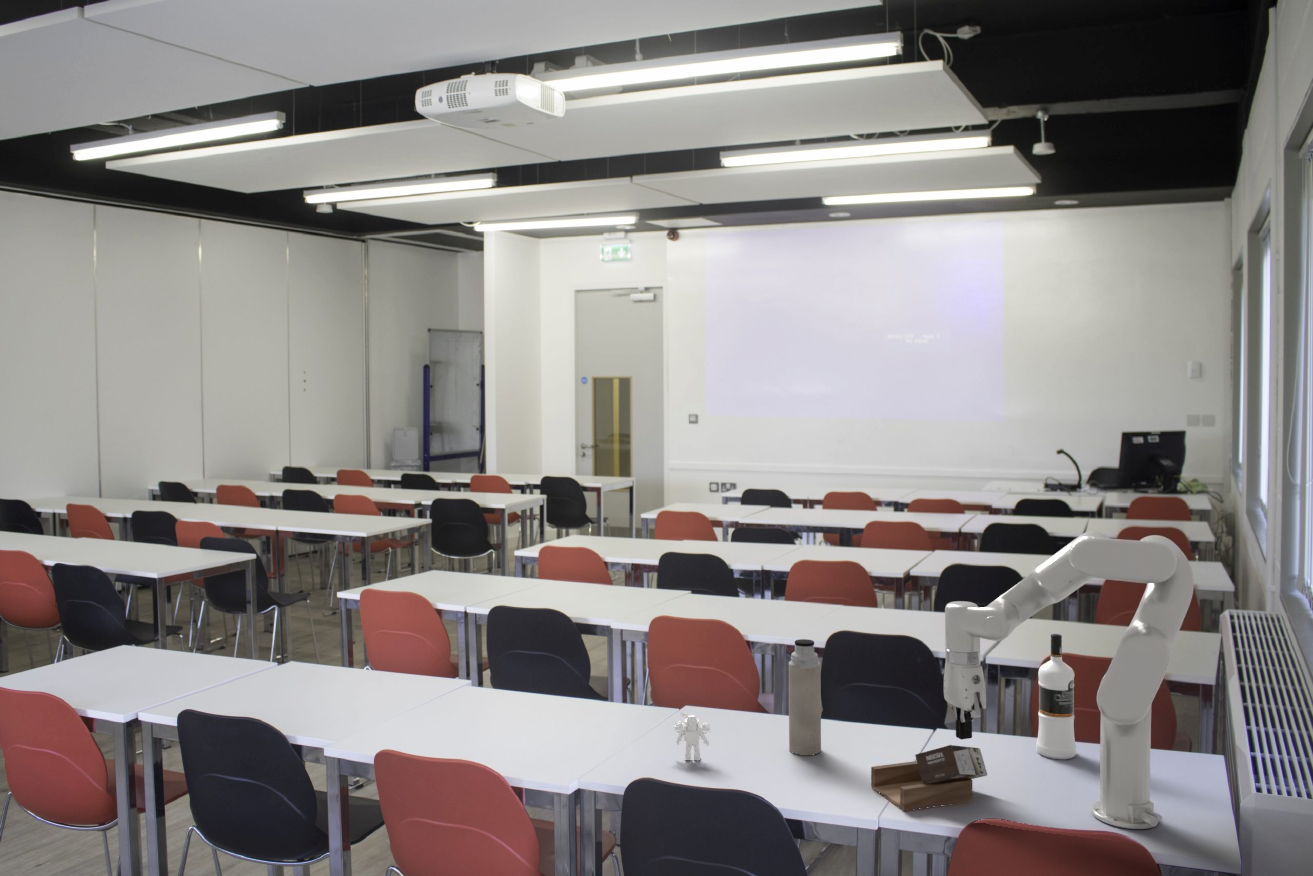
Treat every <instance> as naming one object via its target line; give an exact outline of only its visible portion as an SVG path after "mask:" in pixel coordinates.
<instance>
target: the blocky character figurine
mask: <svg viewBox="0 0 1313 876" xmlns="http://www.w3.org/2000/svg"><path fill="white" fill-rule="evenodd" d="M680 716H681V717H684V722H685V724H684V723H683V722H682V721H681V720H678V721H677V722H675V724H676V725H674V726H673V727H674V731H675V732H676V733H677V734H678V736H677V739H676V744H677V745H680V744H681V742H684V741H685V754H684V760H685V759H687V760H690V759H691V760H692V748H693V751H694V752H693V761H694V760H700V759H702V757H701V753H700V752H701V751H700V742H699V741H700V739H701V740H702V741H703V743H704V744H706V747H708V746H709V745H710V741H709V740H708V738H707V736H706V734H707V733H708V732H709V733H711V727H710V724H709V723H707V721H704V722H703V723H702V724H701V725H700V720H699V719H698V717H697V716H696V715H694V714H690V715H689V714H688V713H687V712H686V713H685V712H682V711H681V712H680ZM691 760H690V761H691ZM700 761H701V760H700Z"/></svg>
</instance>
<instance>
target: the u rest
mask: <svg viewBox="0 0 1313 876" xmlns="http://www.w3.org/2000/svg"><path fill="white" fill-rule="evenodd" d="M870 769H871V771H870V775H871V776H870V777H871V778H870V779H871V781H870V782H871V783H870V785H871V786H870V787H873V788H874V789H875V790H877V791H878V792H880V793H881V794H882V795H884V796H885V797H886V798H887V799H888V800H887V799H886V798H885V797H884V798H885V799H886V800H887V801H888V802H890V803H891V804H893V805H894V804H895V805H894V806H896V807H897V808H898V807H899V810H901V809H902V810H903V811H902V810H901V811H902V812H904V811H905V812H908V811H907V810H912V811H914V810H913V809H919V808H926V809H928V808H927V807H933V806H939V807H942V806H941V805H946V806H951V805H950V804H953V805H959V803H960V804H966V803H972V802H973V779H970V778H962V779H955V780H948V781H940V782H933V783H923V782H922V779H921V775H920V771H919V767H918V763H917V760H914V761H906V762H900V763H891V764H883V765H875V766H871V768H870ZM874 789H873V790H874ZM875 790H874V791H875ZM877 791H876V792H877ZM878 792H877V793H878ZM881 794H880V795H881ZM882 795H881V796H882ZM933 808H934V807H933ZM919 810H920V809H919Z"/></svg>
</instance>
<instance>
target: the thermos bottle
mask: <svg viewBox="0 0 1313 876" xmlns="http://www.w3.org/2000/svg"><path fill="white" fill-rule="evenodd" d="M794 645H795V646H794V651H793V652H791V655H790V656H791V657H790V661H788V749H789V752H790V751H791V752H790V753H792V752H793V753H795V754H794V755H797V754H800V755H799V756H802V755H812V756H814V755H813V754H817V753H819V752H820V751H821V752H822V711H821V710H822V697H821V694H822V693H821V690H822V689H821V688H822V687H821V686H822V685H821V683H822V682H821V681H822V680H821V677H822V675H821V674H822V673H821V670H822V669H821V667H822V666H821V665H822V664H821V662H820V661H819V660H818V659H819V655H818V653H817V652H815V646H814V645H815V641H814V640H812V639H807V638H806V639H805V638H801V639H796V640H794ZM821 752H820V753H821ZM793 753H792V754H793ZM820 753H819V754H820ZM817 755H818V754H817Z"/></svg>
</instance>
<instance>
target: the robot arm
mask: <svg viewBox="0 0 1313 876" xmlns="http://www.w3.org/2000/svg"><path fill="white" fill-rule="evenodd" d="M1193 573H1194V572H1193V570H1192V567H1191V564H1190V562H1189V560H1188V557H1187V556H1186V555H1185V553H1184V552H1183V551H1182V550H1181V548H1180V547H1179V546H1178V545H1177V544H1176V543H1175V542H1174V541H1173V540H1171V539H1170V538H1169V537H1168V538H1167V537H1165V536H1163V535H1157V534H1154V535H1153V534H1152V535H1148V536H1145V537H1142V538H1141V539H1140V540H1136V539H1135V540H1134V539H1120V538H1110V537H1109V536H1108V535H1107V534H1105V533H1103V532H1101V531H1097V530H1091V531H1086V532H1083V533H1082V534H1080V535H1079V536H1077V537H1076V538H1074V539H1073V540H1071V541H1070V542H1069V543H1067V545H1065V546H1064V547H1062V548H1061V549H1060V550H1058V551H1057V552H1056V553H1054V554H1053V555H1051V556H1050V557H1048V558H1047V559H1046V560H1044V561H1043V562H1042V563H1041V564H1038V566H1036V567H1035V568H1033V569H1032V570H1031V571H1030V572H1029V573H1028V575H1026V576H1025V577H1024V578H1023V579H1021V580H1020V581H1019V582H1017V584H1015V585H1014V586H1012V587H1011V588H1010V589H1007V591H1005V592H1004V593H1002V594H1000V595H999V597H997V598H996V599H994V600H993V601H991V602H990V603H989V604H988V605H987V606H984V607H979V606H978V604H976V603H974V602H972V601H964V600H962V601H961V600H957V601H950V602H948V603H946V605H945V608H944V632H945V634H944V639H945V640H944V641H945V642H944V643H945V644H944V645H945V646H944V647H945V663H944V672H943V697H944V700H945V701H946V702H947V704H946V705H948V707H949V708H951V709H952V712H953V719H954V720H955V737H956V738H958V739H960V740H967V739H968V740H969V739H972V738H973V722H974V721H975V720H974V719H976V718H981V715H982V714H981V710H986V708H987V693H986V682H985V675H984V670H983V666H982V665H981V639H984V640H986V641H987V640H988V641H992V642H993V641H994V642H995V641H996V642H999V641H1003V640H1005V639H1007V638H1008V637H1010V635H1011V634H1012V633H1013V632H1014V630H1015V629H1016V628H1017V627H1019V626H1020V625H1021V624H1023V623H1024V622H1026V621H1027V620H1028V619H1030V618H1032V616H1034V615H1035V614H1036V613H1038V612H1040V611H1041V610H1043V609H1045V608H1046V607H1049V606H1050V605H1054V604H1057V603H1060V602H1061V601H1063V600H1065V599H1066V598H1067V597H1068V596H1070V595H1071V594H1073V593H1074V592H1075V591H1077V590H1078V589H1080V588H1082V587H1083V586H1084V585H1085V584H1086V583H1088V582H1089V581H1091V580H1092V579H1101V580H1102V579H1103V580H1108V581H1109V580H1111V581H1121V582H1127V583H1128V582H1130V583H1139V584H1146V587H1145V590H1144V592H1143V595H1142V597H1141V599H1140V601H1139V605H1138V607H1137V609H1136V612H1135V613H1134V616H1133V618H1132V619H1131V622H1130V624H1129V626H1128V627H1127V628H1126V630H1125V631H1124V632H1123V634H1122V635H1121V638H1120V640H1119V641H1120V642H1119V644H1118V646H1117V649H1116V651H1115V653H1114V655H1113V657H1112V660H1111V662H1110V664H1109V667H1108V669H1107V671H1106V672H1105V674H1104V676H1103V677H1102V678H1101V681H1100V683H1099V687H1098V690H1097V691H1096V692H1097V693H1096V703H1097V704H1096V705H1097V707H1098V709H1099V711H1100V729H1099V730H1100V735H1099V738H1100V739H1099V741H1100V742H1099V744H1100V745H1099V752H1100V753H1099V754H1100V755H1099V759H1100V760H1099V767H1100V768H1099V801H1096V802H1095V803H1093V805H1092V808H1091V813H1092V815H1093V816H1094V818H1097V819H1098V820H1099V821H1100V822H1103V823H1104V824H1105V823H1106V824H1107V825H1110V826H1115V827H1119V828H1122V829H1131V830H1145V829H1146V830H1147V829H1151V828H1154V827H1157V825H1158V823H1159V822H1162V821H1163V815H1162V814H1160V813H1158V812H1156V811H1155V809H1154V807H1155V803H1154V802H1153V801H1151V747H1152V746H1151V745H1152V744H1151V743H1152V742H1151V741H1152V740H1151V738H1152V736H1151V735H1152V727H1151V725H1152V703H1153V701H1154V699H1155V697H1156V695H1157V693H1158V691H1159V689H1160V687H1161V684H1162V682H1163V680H1164V678H1165V675H1166V674H1167V671H1168V670H1169V666H1170V663H1171V660H1172V653H1173V646H1174V643H1175V641H1176V638H1177V636H1178V634H1179V631H1180V629H1181V628H1182V625H1183V622H1184V619H1185V617H1186V615H1187V612H1188V610H1189V608H1190V605H1191V601H1192V599H1193V595H1194V585H1195V584H1194V574H1193Z"/></svg>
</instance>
